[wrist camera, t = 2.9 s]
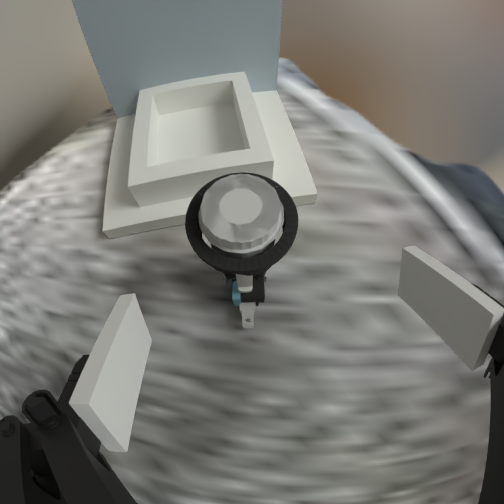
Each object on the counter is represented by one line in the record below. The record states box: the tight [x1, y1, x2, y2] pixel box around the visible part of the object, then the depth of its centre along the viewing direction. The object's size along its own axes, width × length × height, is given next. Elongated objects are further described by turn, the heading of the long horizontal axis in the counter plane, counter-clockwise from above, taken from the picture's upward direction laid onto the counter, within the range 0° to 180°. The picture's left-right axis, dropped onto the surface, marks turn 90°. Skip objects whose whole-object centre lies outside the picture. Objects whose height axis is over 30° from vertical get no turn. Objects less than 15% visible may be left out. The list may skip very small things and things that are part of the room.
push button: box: [185, 172, 298, 329], centre depth 17 cm, size 7×5×10 cm
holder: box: [72, 0, 318, 239], centre depth 17 cm, size 18×16×22 cm
